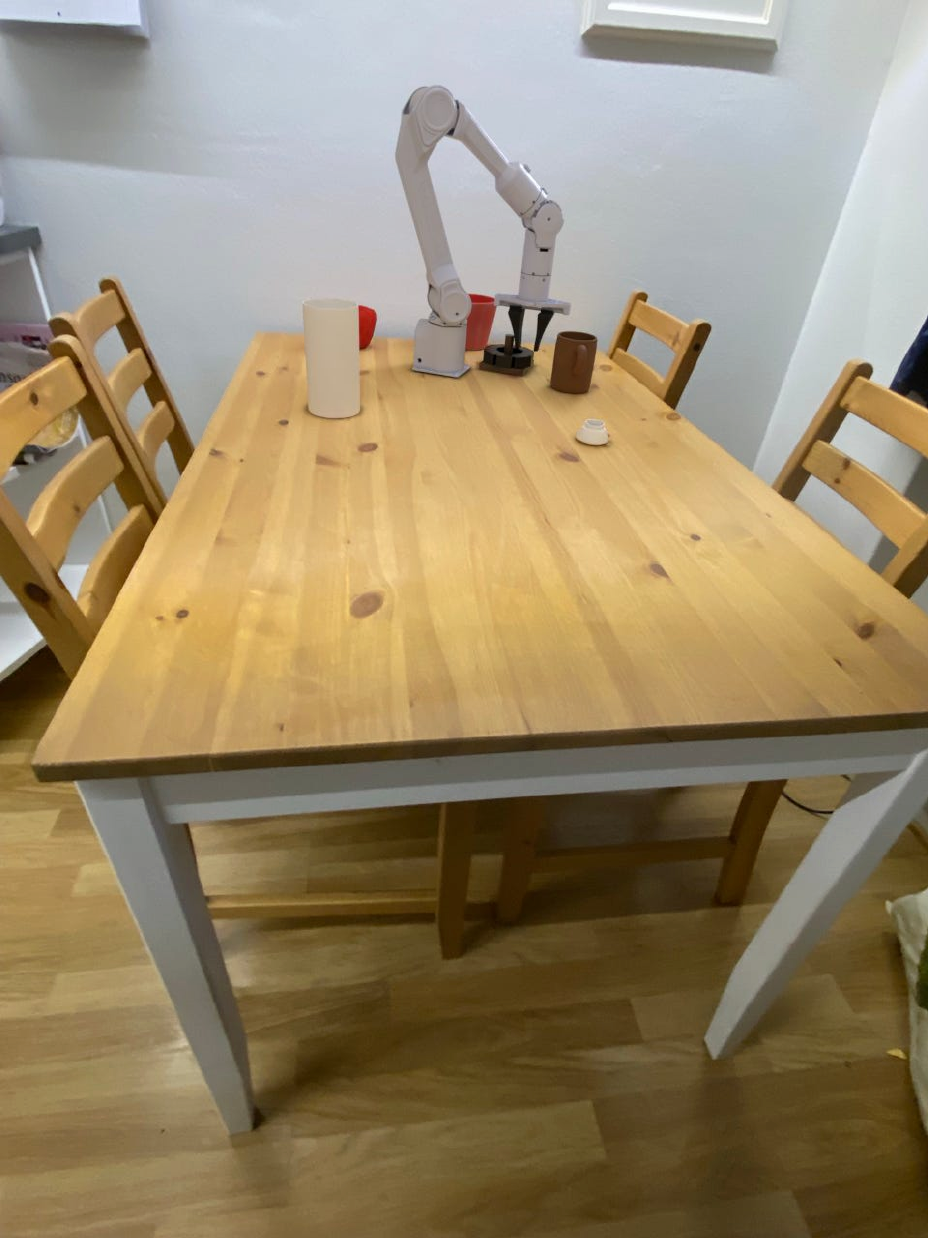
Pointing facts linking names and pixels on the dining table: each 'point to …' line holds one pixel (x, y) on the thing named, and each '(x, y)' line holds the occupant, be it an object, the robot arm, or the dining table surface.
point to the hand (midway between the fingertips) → (526, 349)
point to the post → (508, 350)
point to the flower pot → (479, 321)
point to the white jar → (593, 432)
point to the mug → (573, 361)
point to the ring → (508, 357)
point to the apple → (366, 325)
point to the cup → (332, 356)
